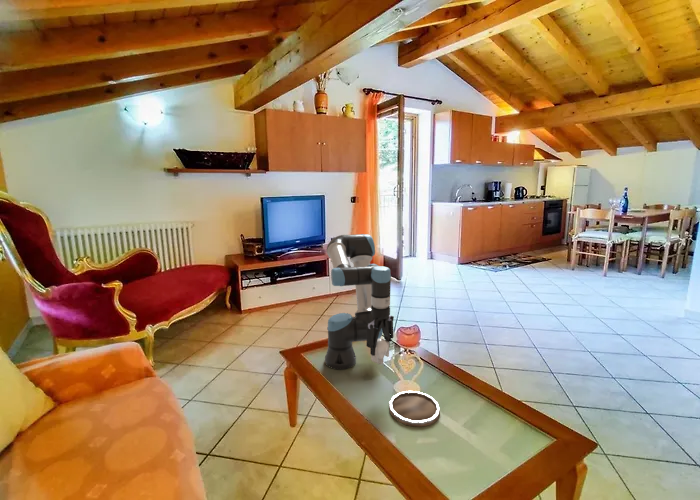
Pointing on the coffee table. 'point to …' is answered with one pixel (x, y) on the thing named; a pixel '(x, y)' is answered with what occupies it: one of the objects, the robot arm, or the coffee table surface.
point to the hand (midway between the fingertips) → (380, 358)
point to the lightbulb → (381, 350)
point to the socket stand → (414, 409)
